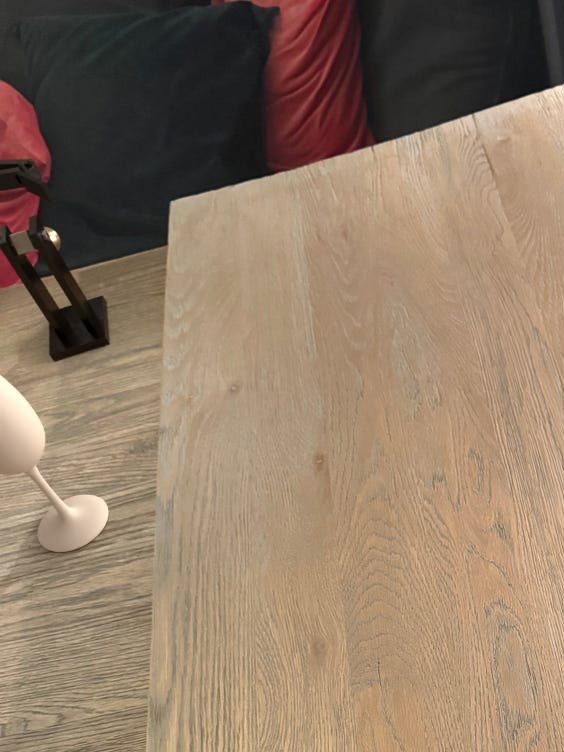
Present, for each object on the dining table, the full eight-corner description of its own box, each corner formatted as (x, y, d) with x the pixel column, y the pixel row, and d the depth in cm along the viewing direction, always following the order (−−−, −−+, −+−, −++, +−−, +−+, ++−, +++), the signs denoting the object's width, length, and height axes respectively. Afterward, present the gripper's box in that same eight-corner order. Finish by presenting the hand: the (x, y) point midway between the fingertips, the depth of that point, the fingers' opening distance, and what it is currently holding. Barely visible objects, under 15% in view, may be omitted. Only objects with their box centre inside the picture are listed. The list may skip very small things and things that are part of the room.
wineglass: (24, 536, 111) (-94, 402, 94) (77, 486, 114) (-28, 348, 97) (70, 563, 108) (-44, 429, 90) (123, 511, 111) (23, 372, 93)
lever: (43, 258, 132) (31, 231, 130) (68, 250, 132) (56, 223, 130) (15, 261, 120) (1, 231, 118) (42, 252, 120) (28, 223, 118)
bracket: (53, 318, 135) (-13, 218, 122) (106, 302, 135) (47, 199, 122) (53, 361, 129) (-15, 261, 116) (109, 344, 129) (47, 241, 116)
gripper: (16, 161, 150) (91, 195, 140) (-118, 248, 141) (-47, 291, 132) (-12, 113, 143) (65, 146, 134) (-154, 201, 135) (-82, 243, 125)
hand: (9, 218), depth 133 cm, fingers open, 13 cm apart
